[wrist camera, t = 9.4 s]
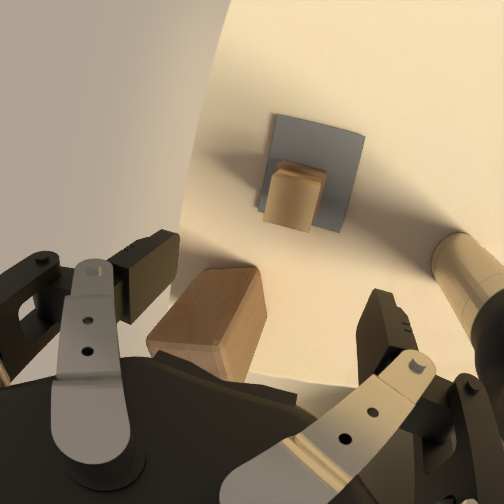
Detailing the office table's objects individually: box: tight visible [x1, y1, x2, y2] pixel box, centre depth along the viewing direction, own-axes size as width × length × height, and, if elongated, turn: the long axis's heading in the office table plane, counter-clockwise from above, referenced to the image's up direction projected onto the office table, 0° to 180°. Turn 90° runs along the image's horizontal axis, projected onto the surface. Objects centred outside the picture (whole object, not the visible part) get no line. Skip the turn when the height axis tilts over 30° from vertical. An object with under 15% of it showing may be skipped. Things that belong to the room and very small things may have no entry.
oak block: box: [263, 168, 321, 233], centre depth 34 cm, size 5×5×6 cm
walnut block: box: [276, 160, 327, 222], centre depth 39 cm, size 6×6×5 cm
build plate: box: [258, 115, 365, 233], centre depth 40 cm, size 12×14×1 cm
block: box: [146, 267, 267, 383], centre depth 42 cm, size 10×10×20 cm
